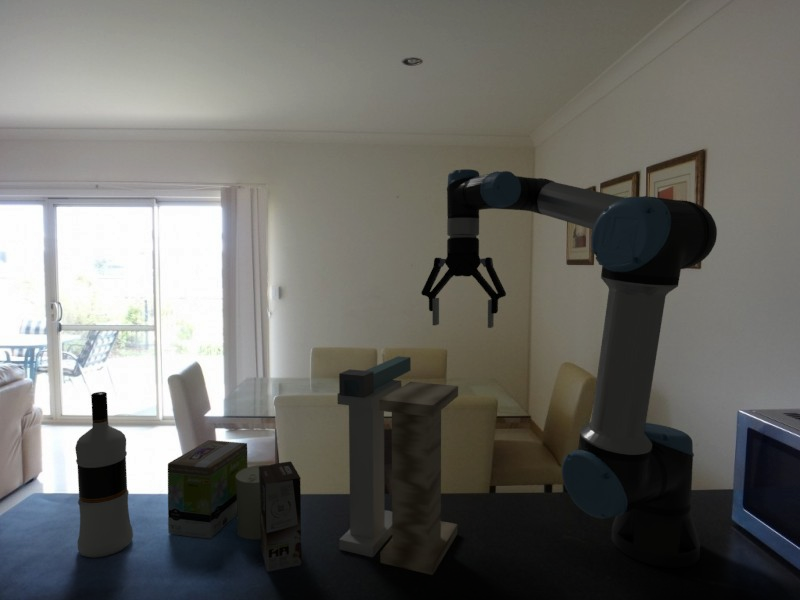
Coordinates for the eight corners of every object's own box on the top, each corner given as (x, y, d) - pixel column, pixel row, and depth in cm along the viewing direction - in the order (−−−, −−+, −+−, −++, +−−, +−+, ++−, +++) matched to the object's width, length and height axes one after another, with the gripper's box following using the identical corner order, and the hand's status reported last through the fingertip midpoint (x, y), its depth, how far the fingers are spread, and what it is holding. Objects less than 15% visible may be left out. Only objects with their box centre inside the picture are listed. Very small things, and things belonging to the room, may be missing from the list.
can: (227, 536, 105) (226, 478, 104) (251, 515, 114) (250, 460, 113) (270, 542, 103) (268, 482, 102) (290, 519, 112) (289, 464, 111)
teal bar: (414, 370, 118) (414, 353, 117) (363, 397, 95) (363, 375, 94) (394, 369, 119) (394, 351, 119) (339, 395, 97) (339, 373, 96)
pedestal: (457, 533, 106) (458, 385, 103) (432, 575, 92) (432, 405, 90) (410, 524, 109) (410, 381, 107) (380, 562, 96) (379, 399, 93)
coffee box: (303, 565, 95) (301, 478, 94) (266, 573, 92) (264, 483, 91) (293, 540, 103) (292, 460, 102) (259, 547, 101) (257, 464, 100)
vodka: (73, 564, 95) (65, 401, 93) (82, 539, 104) (75, 389, 102) (131, 553, 99) (124, 395, 97) (135, 530, 107) (128, 384, 105)
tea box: (212, 540, 104) (210, 467, 102) (167, 535, 106) (164, 463, 104) (249, 505, 118) (248, 441, 117) (208, 501, 120) (206, 438, 119)
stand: (401, 522, 110) (401, 380, 108) (372, 557, 97) (371, 397, 95) (371, 516, 113) (370, 377, 111) (339, 549, 100) (337, 393, 98)
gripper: (518, 236, 124) (517, 326, 126) (419, 238, 134) (419, 322, 135) (512, 235, 117) (511, 330, 119) (408, 237, 127) (408, 325, 128)
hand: (462, 326), depth 127 cm, fingers open, 13 cm apart
